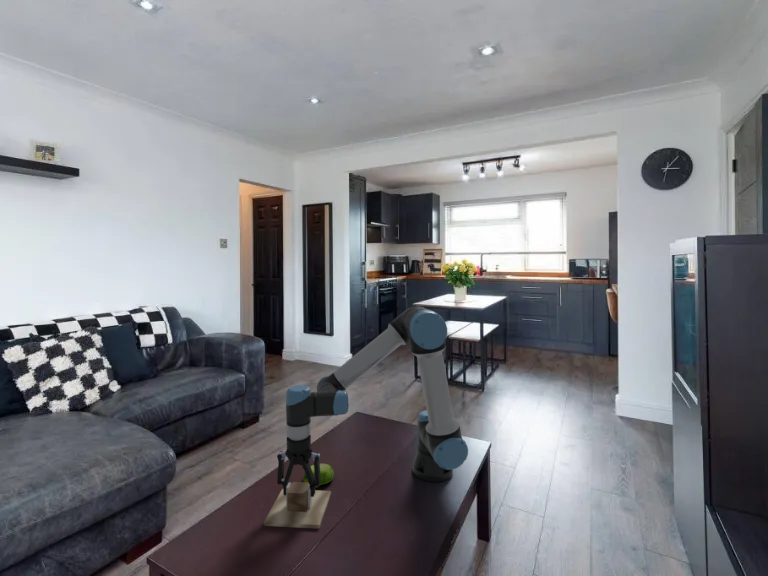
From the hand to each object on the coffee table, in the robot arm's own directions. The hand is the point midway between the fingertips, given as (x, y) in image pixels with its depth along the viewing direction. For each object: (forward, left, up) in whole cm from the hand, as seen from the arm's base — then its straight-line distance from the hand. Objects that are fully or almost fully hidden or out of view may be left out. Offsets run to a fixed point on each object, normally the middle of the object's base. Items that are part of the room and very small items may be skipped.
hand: (299, 504), depth 125 cm
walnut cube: (0, 0, 0) cm, 0 cm away
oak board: (0, 0, -2) cm, 2 cm away
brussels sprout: (-2, -17, -2) cm, 17 cm away
